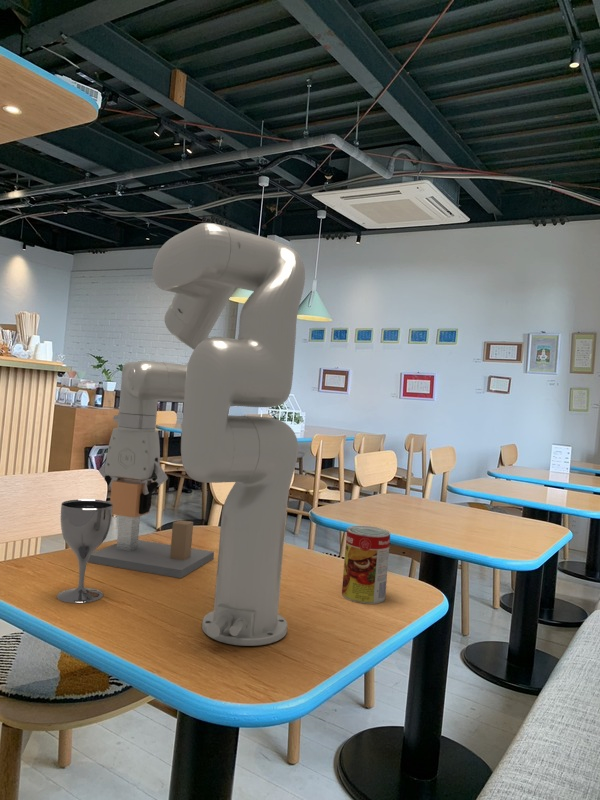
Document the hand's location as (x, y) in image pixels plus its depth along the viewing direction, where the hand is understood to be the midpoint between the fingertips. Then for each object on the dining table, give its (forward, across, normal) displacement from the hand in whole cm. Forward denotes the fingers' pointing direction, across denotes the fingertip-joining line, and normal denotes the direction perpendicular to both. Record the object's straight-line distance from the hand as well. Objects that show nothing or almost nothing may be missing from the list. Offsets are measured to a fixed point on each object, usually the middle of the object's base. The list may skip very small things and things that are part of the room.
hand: (130, 509), depth 120 cm
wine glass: (+10, +6, -24) cm, 26 cm away
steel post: (+8, 0, 0) cm, 8 cm away
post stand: (+9, +6, 0) cm, 11 cm away
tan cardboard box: (+1, 0, 0) cm, 1 cm away
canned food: (+10, +49, -1) cm, 50 cm away
